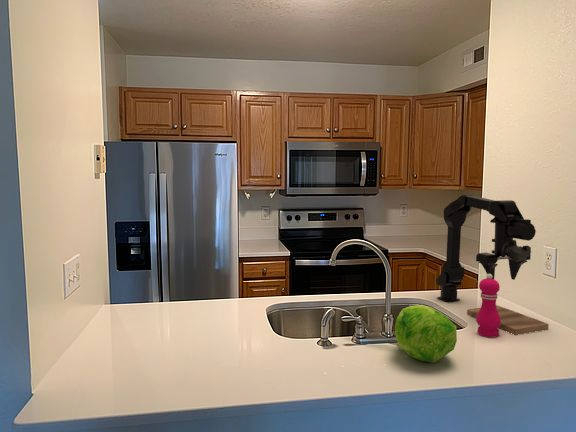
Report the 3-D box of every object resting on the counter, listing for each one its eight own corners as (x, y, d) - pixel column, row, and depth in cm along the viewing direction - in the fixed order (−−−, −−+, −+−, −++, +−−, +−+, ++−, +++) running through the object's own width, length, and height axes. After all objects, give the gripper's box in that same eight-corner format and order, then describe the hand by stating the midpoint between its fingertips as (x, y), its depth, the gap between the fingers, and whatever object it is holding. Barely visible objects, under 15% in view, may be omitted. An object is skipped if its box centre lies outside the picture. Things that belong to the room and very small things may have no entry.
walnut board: (466, 316, 157) (467, 309, 157) (497, 311, 161) (497, 305, 161) (515, 337, 136) (515, 329, 136) (548, 331, 140) (548, 323, 140)
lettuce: (437, 350, 131) (442, 302, 131) (463, 374, 111) (468, 317, 111) (384, 344, 131) (388, 296, 132) (399, 367, 111) (405, 310, 111)
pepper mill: (471, 332, 139) (472, 272, 137) (486, 328, 142) (487, 270, 140) (489, 339, 133) (491, 277, 131) (505, 335, 136) (507, 274, 134)
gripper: (500, 241, 135) (499, 289, 137) (545, 237, 141) (543, 283, 142) (475, 237, 146) (474, 281, 147) (517, 233, 152) (516, 276, 153)
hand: (502, 280), depth 147 cm, fingers open, 9 cm apart
